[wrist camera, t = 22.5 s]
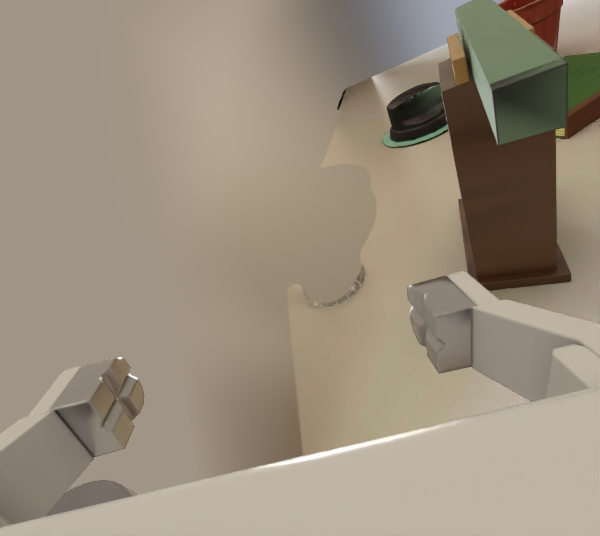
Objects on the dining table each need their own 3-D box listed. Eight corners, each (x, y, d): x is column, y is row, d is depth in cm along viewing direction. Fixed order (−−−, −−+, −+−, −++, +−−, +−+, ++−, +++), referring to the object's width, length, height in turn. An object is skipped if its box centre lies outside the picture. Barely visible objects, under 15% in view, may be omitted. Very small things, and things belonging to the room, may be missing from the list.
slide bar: (568, 126, 16) (568, 62, 15) (497, 146, 18) (491, 89, 16) (488, 25, 37) (485, -7, 36) (459, 38, 39) (454, 8, 37)
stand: (570, 281, 37) (576, 13, 23) (470, 292, 42) (423, 75, 28) (531, 189, 51) (519, -13, 37) (459, 205, 56) (424, 32, 42)
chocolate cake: (426, 102, 96) (486, 103, 79) (389, 161, 99) (439, 173, 82) (395, 66, 87) (454, 59, 71) (356, 131, 91) (404, 139, 74)
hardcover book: (567, 138, 56) (567, 117, 54) (478, 130, 72) (475, 113, 70) (677, 64, 58) (681, 41, 56) (567, 72, 74) (567, 54, 72)
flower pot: (472, 89, 90) (463, 22, 82) (529, 58, 89) (526, -13, 81) (518, 94, 77) (513, 14, 68) (586, 57, 75) (589, -29, 67)
